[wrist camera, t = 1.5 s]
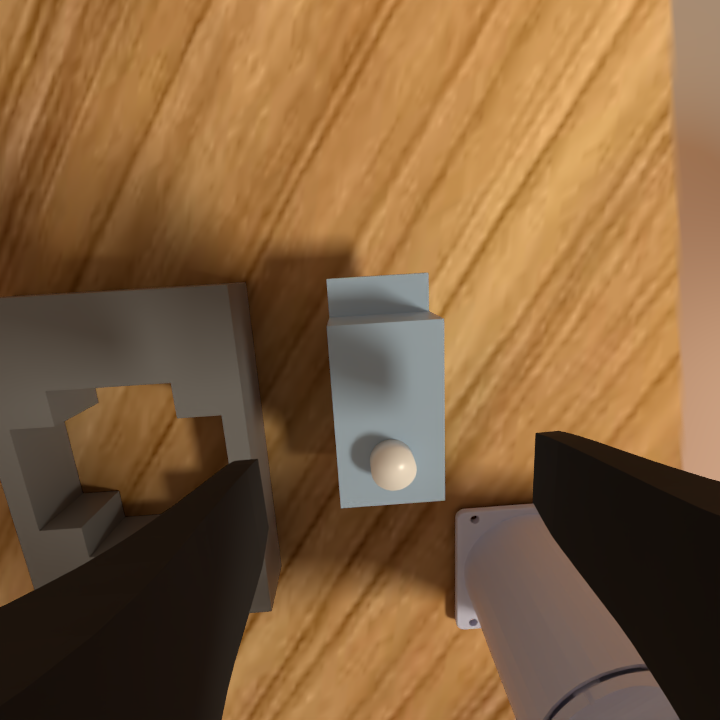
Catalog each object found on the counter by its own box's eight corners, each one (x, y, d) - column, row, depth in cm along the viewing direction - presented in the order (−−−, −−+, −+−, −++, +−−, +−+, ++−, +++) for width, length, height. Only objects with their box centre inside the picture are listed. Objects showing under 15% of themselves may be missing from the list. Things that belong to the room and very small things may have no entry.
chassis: (245, 282, 18) (226, 284, 15) (281, 565, 22) (271, 611, 19) (10, 296, 18) (-56, 301, 15) (87, 580, 22) (46, 629, 19)
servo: (412, 272, 18) (450, 274, 12) (417, 459, 21) (450, 548, 14) (329, 277, 18) (321, 281, 12) (343, 465, 21) (343, 557, 14)
